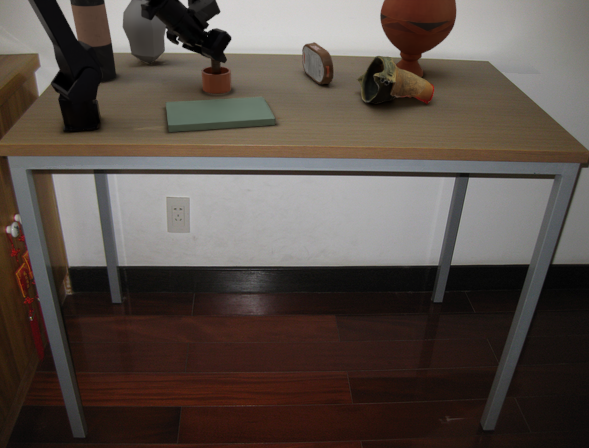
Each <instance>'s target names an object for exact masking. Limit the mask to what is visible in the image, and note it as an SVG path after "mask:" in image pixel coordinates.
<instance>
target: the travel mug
mask: <svg viewBox="0 0 589 448" xmlns="http://www.w3.org/2000/svg"><path fill="white" fill-rule="evenodd" d="M69 1H70V6H71V11H72V12H71V13H72V17H73V22H74V28H75V33H76V39H77V40H78V41H79V40H80V41H82V42H84V43H86V44H88V45H90V46H92V47H93V48H94V50H95V53H96V56H97V58H98V60H99V62H100V63H101V64H102V65H103V67H100V68H101V70H102V73H103V78H102V80H101V83H105V82H110V81H113V80H115V79H116V78H117V71H116V63H115V55H114V48H113V41H112V36H111V35H112V34H111V31H110V24H109V18H108V13H107V8H106V7H107V6H106V3H105V0H69Z"/></svg>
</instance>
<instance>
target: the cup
mask: <svg viewBox="0 0 589 448" xmlns="http://www.w3.org/2000/svg"><path fill="white" fill-rule="evenodd" d="M200 74H201V86H202V91H203V92H205V93H207V94H214V95H217V94H218V95H219V94H220V95H221V94H226V93H229V92H231V90H232V89H233V88H232V71H231V68H230V67H226V66H224V65H223V66H222V65H221V74H219V75H213V74H212V71H211V65H210V66H206V67H203V68H202V69H201V71H200Z"/></svg>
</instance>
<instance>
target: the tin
mask: <svg viewBox="0 0 589 448" xmlns="http://www.w3.org/2000/svg"><path fill="white" fill-rule="evenodd" d="M301 50H302V51H301V52H302V62H301V63H302V67H303V70H304V72H305V74H306V75H307V76H308V77H309V78H311V80H313V81H314V82H316V83H317V85H329V84H331V83H332V82H333V78H334V62H333V59H332V56H331V54H330V51H328V50H327V49H325V48H324V47H323V46H321V45H319V44H318V43H317V42H311V43H306V44H304V45H303V47H302V49H301Z"/></svg>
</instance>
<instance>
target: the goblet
mask: <svg viewBox="0 0 589 448" xmlns="http://www.w3.org/2000/svg"><path fill="white" fill-rule="evenodd" d="M380 8H381V9H380V16H379V19H380V24H381V28H382V30H383V33H384V35H385V36H386V39H388V41H389V42H390V44H392V46H393V47H395V48H396V49H397V50H398V51H399V56H400V58H401V59H400V60H399V61H398V62H397V63H395V65H396V66H397V67H398V68H399V69H402V70H406V71H408V72H411V73H413V74H415V75H417V76H419V77H421V78H422V77H423V76H424V70H423V68H422V66H421V64H420V62H419V60H420V59H421V58H422V55H423V54H424V53H427V52H429V51H431V50H433V49H435V48H436V47H437V46H438V45H440V44H441V43H443V42H444V40H446V39H447V38H448V36H449V35H450V34H451V32H452V30H453V29H454V26H455V24H456V19H457V1H456V0H383V2H382V5H381V7H380Z"/></svg>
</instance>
